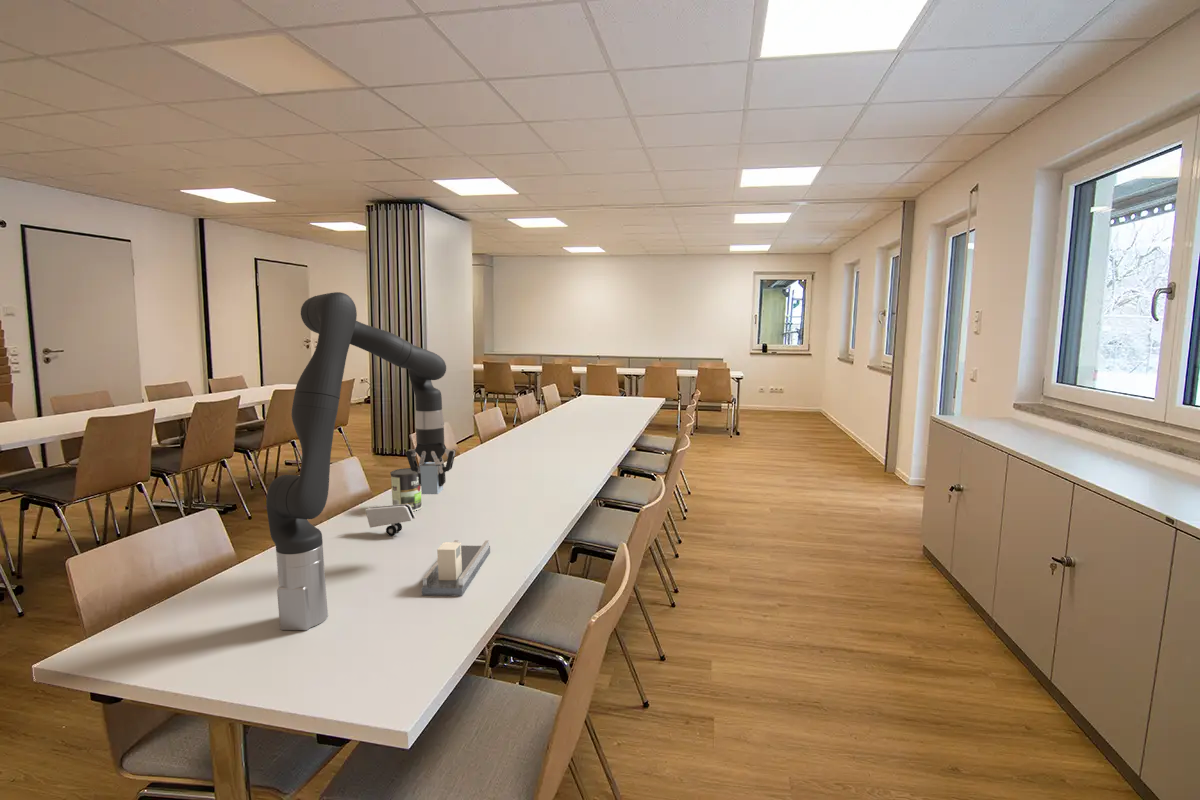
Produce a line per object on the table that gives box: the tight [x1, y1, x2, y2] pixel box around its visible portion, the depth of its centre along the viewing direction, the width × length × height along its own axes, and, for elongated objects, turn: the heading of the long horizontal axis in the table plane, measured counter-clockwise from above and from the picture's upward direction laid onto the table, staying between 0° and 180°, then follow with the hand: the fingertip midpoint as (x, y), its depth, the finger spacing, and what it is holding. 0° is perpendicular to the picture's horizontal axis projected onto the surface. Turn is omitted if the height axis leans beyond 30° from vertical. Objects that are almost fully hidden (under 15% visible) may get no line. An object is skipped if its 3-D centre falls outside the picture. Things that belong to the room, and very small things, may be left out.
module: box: [420, 462, 444, 495], centre depth 164 cm, size 5×5×8 cm
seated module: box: [436, 541, 462, 580], centre depth 148 cm, size 5×5×8 cm
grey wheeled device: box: [364, 504, 417, 537], centre depth 185 cm, size 4×10×15 cm
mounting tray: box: [421, 539, 491, 597], centre depth 155 cm, size 28×10×4 cm, turn 177°
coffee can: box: [390, 467, 423, 512], centre depth 211 cm, size 10×10×14 cm
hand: (432, 485), depth 164 cm, fingers closed on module, 4 cm apart
